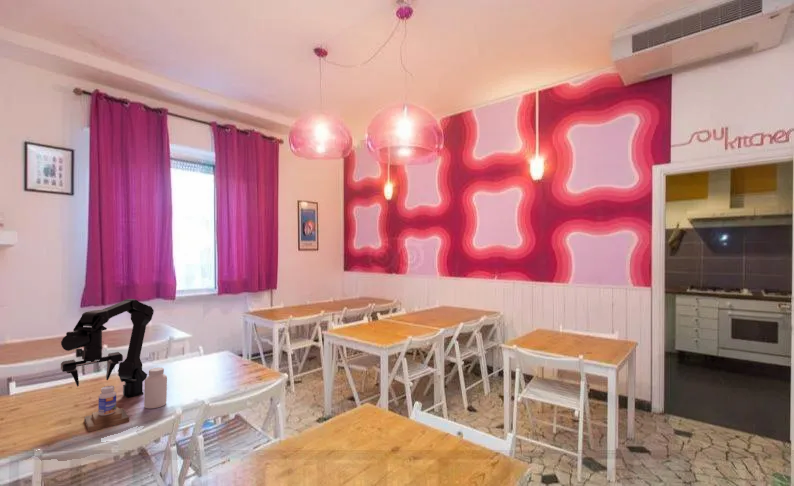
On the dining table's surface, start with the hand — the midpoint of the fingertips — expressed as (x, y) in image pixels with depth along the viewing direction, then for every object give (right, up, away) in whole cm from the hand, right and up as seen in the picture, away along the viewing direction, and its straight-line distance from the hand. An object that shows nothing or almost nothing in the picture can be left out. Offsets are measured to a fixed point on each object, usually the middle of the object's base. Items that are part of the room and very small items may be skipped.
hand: (92, 383), depth 152 cm
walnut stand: (+10, -12, -6) cm, 17 cm away
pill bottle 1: (+10, -9, -6) cm, 15 cm away
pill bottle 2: (+19, -13, +9) cm, 25 cm away
